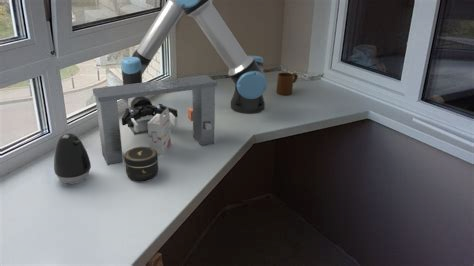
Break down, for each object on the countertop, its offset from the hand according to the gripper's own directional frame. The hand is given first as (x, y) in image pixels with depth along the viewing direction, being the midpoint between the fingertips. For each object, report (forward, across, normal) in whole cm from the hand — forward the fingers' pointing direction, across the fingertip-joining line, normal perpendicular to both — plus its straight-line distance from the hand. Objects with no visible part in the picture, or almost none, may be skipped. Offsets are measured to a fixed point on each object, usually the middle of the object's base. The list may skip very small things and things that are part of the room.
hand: (157, 125), depth 141 cm
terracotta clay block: (-1, -17, -3) cm, 17 cm away
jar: (+15, +10, -9) cm, 20 cm away
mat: (-20, 0, -9) cm, 22 cm away
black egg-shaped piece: (+9, +29, -9) cm, 32 cm away
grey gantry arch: (0, -1, -9) cm, 9 cm away
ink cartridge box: (0, -1, -9) cm, 9 cm away
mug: (-33, -76, -9) cm, 84 cm away
